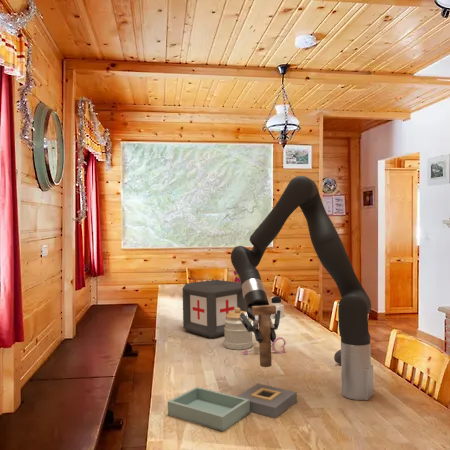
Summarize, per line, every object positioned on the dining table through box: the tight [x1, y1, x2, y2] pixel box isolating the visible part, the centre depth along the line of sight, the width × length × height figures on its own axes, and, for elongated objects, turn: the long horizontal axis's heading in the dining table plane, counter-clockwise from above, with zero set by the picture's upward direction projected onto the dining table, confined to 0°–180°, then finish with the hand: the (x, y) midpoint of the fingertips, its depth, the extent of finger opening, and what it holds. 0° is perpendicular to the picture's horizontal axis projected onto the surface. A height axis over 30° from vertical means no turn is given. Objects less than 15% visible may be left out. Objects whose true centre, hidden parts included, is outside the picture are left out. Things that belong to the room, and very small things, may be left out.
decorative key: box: [241, 336, 287, 355], centre depth 193 cm, size 7×1×20 cm
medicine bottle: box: [270, 296, 285, 319], centre depth 264 cm, size 7×7×12 cm
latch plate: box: [236, 383, 298, 419], centre depth 139 cm, size 14×14×3 cm
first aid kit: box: [182, 279, 245, 339], centre depth 234 cm, size 25×25×25 cm
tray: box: [167, 386, 251, 433], centre depth 133 cm, size 20×14×4 cm
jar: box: [223, 307, 254, 351], centre depth 205 cm, size 13×13×18 cm
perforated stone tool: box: [333, 349, 341, 365], centre depth 177 cm, size 15×5×7 cm, turn 102°
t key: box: [252, 304, 276, 368], centre depth 139 cm, size 7×4×18 cm, turn 102°
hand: (267, 341), depth 137 cm, fingers closed on t key, 3 cm apart
